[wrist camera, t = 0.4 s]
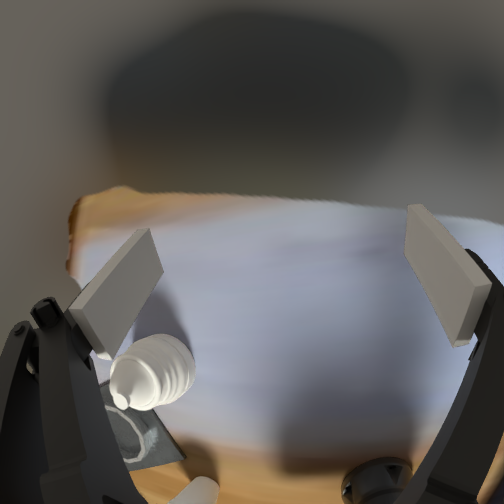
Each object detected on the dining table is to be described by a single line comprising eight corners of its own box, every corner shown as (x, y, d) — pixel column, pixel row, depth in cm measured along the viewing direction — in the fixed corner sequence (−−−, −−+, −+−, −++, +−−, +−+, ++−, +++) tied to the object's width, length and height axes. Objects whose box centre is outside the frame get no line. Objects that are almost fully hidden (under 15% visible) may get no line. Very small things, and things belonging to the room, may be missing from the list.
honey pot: (200, 344, 51) (150, 374, 33) (191, 404, 51) (144, 447, 33) (141, 325, 54) (79, 341, 36) (135, 382, 53) (79, 411, 36)
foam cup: (182, 487, 50) (158, 519, 37) (192, 465, 50) (166, 498, 37) (219, 504, 48) (201, 539, 35) (232, 483, 48) (214, 520, 35)
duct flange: (186, 456, 50) (178, 466, 46) (124, 470, 53) (115, 477, 49) (130, 372, 54) (119, 377, 50) (77, 399, 56) (66, 403, 53)
